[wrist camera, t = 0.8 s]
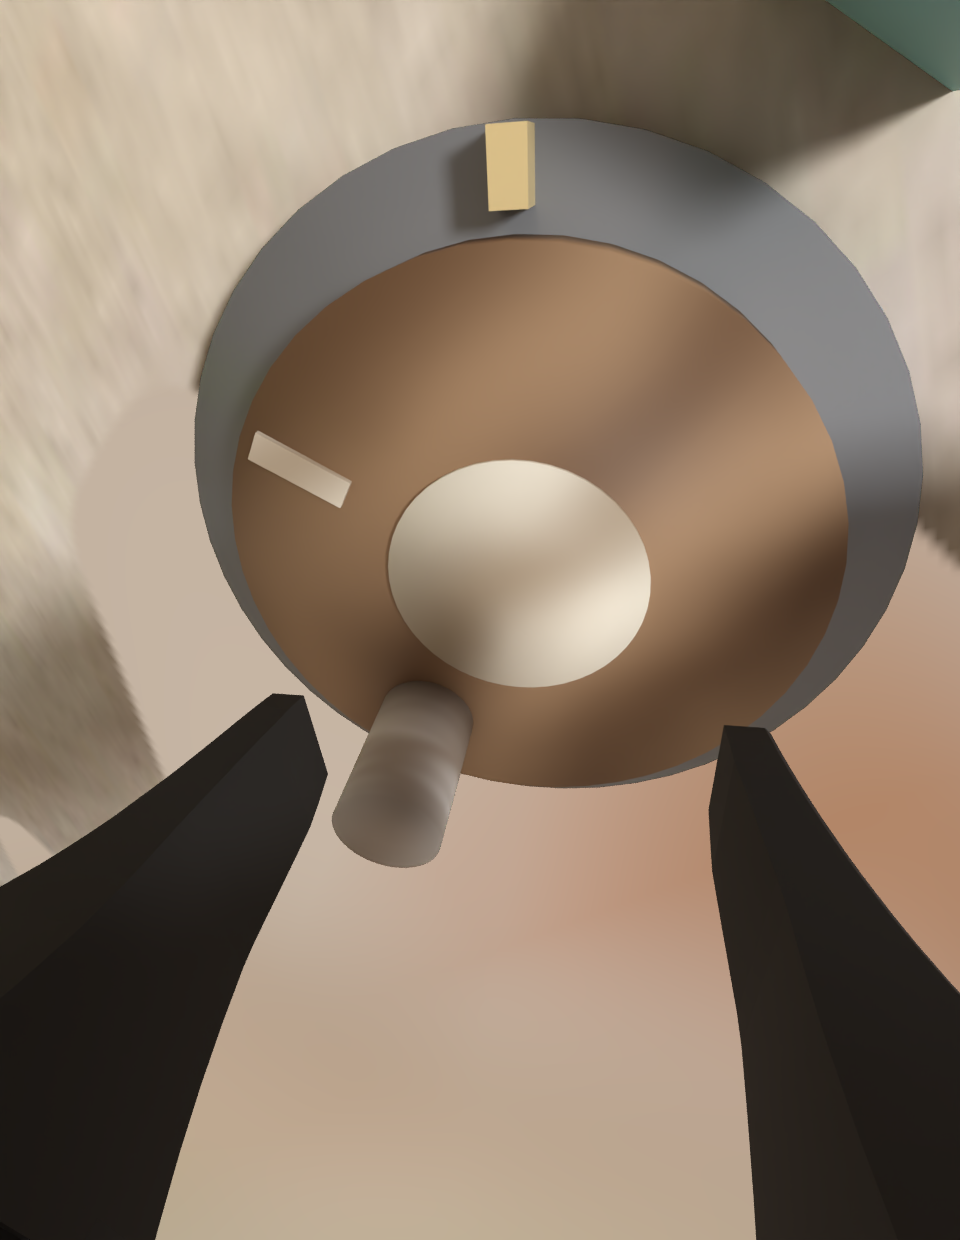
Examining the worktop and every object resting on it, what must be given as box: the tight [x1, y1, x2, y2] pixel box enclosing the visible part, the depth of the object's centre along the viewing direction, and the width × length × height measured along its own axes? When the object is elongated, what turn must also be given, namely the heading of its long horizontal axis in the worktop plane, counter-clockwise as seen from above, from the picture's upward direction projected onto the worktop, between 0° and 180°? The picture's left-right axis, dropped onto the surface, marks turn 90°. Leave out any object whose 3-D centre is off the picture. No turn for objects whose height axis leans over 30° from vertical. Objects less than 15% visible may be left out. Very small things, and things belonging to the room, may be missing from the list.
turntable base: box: [195, 118, 923, 788], centre depth 19 cm, size 20×20×2 cm
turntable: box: [232, 234, 849, 868], centre depth 16 cm, size 16×16×6 cm
